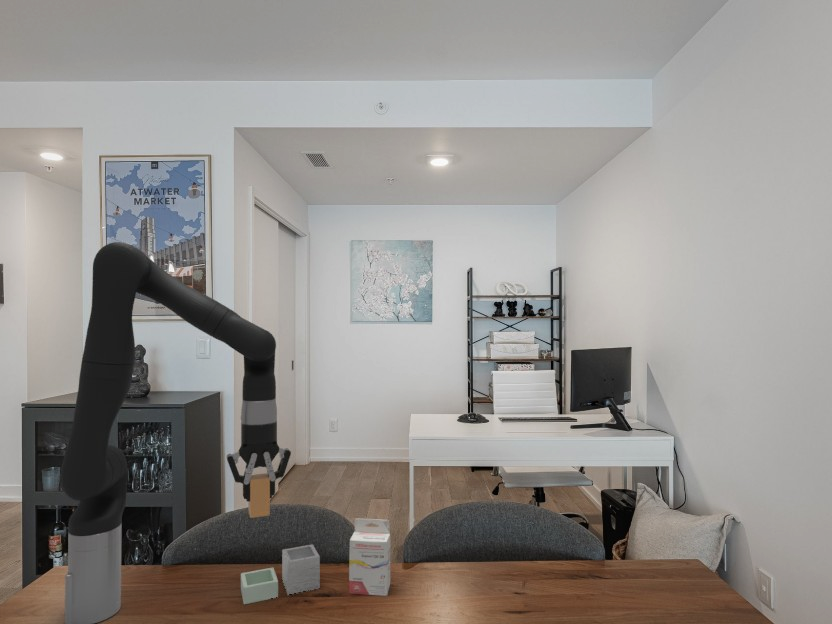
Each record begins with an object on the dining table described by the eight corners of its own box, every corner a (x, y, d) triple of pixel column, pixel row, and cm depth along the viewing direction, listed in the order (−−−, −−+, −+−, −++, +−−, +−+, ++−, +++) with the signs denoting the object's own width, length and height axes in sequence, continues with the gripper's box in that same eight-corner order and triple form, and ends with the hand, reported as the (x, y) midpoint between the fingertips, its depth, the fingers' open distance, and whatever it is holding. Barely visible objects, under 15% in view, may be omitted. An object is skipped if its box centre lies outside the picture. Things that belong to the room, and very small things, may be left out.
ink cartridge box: (348, 594, 112) (348, 525, 112) (353, 583, 117) (353, 517, 117) (387, 596, 111) (387, 527, 111) (391, 585, 116) (390, 518, 116)
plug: (250, 518, 110) (250, 480, 111) (248, 511, 114) (248, 475, 114) (269, 515, 112) (269, 477, 112) (267, 509, 116) (267, 473, 116)
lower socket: (243, 604, 108) (243, 588, 108) (240, 589, 115) (240, 573, 115) (278, 597, 111) (278, 581, 111) (273, 582, 117) (273, 567, 117)
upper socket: (287, 595, 112) (287, 562, 112) (282, 580, 118) (282, 549, 118) (319, 588, 115) (319, 556, 115) (312, 574, 121) (312, 544, 121)
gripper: (225, 425, 107) (225, 509, 107) (295, 420, 113) (295, 499, 113) (223, 419, 114) (223, 498, 114) (289, 414, 120) (289, 489, 119)
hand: (259, 498), depth 113 cm, fingers closed on plug, 4 cm apart
